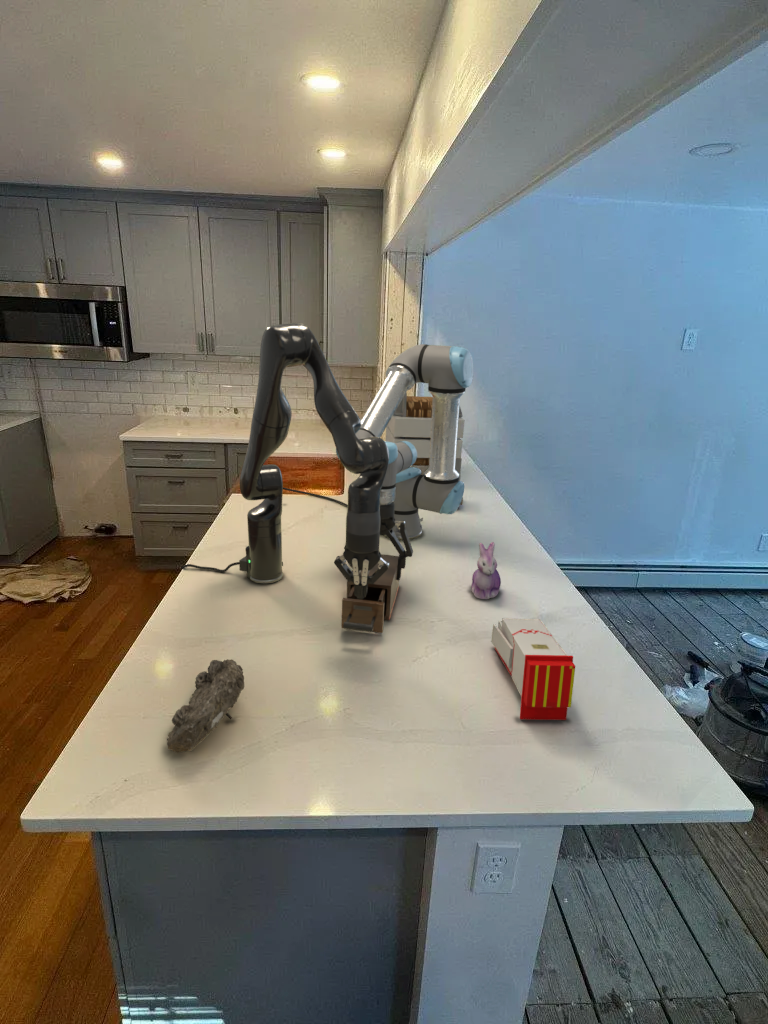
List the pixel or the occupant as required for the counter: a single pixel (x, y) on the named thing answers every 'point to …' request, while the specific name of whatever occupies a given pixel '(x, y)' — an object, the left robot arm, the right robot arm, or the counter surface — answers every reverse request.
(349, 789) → the counter surface
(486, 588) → the figurine
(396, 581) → the cabinet
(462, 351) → the right robot arm
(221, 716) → the fossil
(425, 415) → the white slatted crate
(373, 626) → the drawer
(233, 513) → the counter surface
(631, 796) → the counter surface
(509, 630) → the toy
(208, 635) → the counter surface
